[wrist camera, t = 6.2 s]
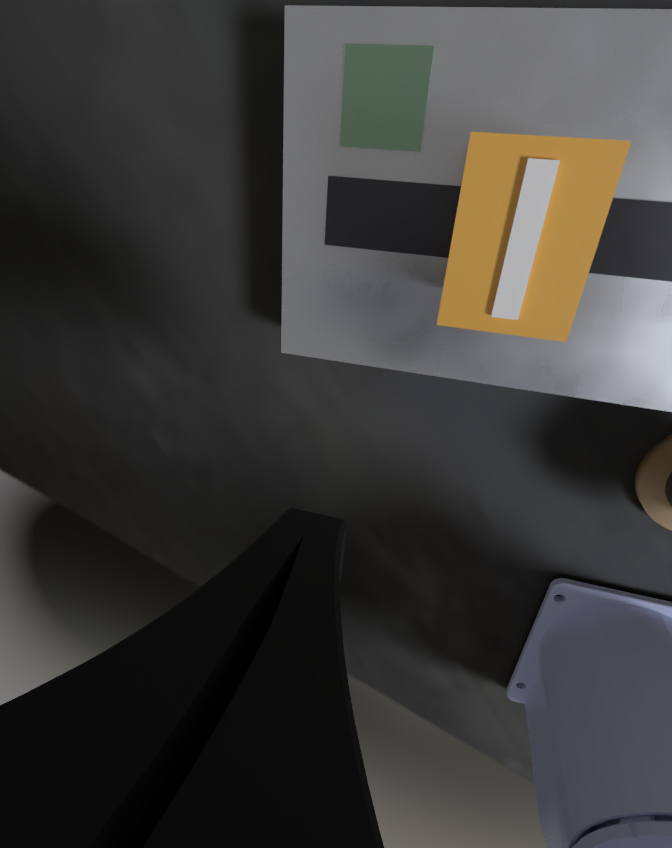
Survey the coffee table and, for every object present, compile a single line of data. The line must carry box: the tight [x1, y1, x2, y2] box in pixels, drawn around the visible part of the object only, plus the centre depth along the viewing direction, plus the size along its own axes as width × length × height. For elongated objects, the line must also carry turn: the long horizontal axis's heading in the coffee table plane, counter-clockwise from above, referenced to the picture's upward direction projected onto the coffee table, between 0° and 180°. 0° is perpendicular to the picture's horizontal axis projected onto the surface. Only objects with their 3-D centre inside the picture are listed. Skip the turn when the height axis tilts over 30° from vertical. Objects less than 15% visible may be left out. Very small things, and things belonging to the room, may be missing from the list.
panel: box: [281, 5, 672, 412], centre depth 14 cm, size 10×16×3 cm, turn 86°
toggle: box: [437, 132, 631, 342], centre depth 12 cm, size 4×3×4 cm
